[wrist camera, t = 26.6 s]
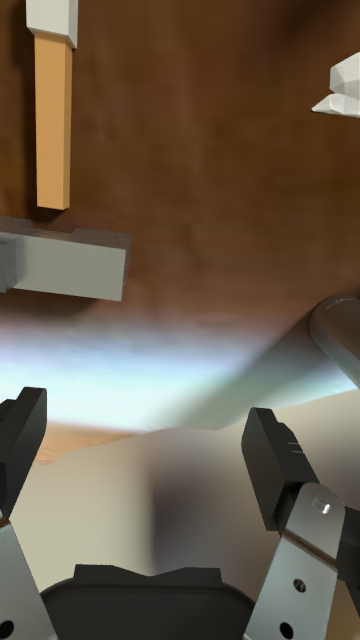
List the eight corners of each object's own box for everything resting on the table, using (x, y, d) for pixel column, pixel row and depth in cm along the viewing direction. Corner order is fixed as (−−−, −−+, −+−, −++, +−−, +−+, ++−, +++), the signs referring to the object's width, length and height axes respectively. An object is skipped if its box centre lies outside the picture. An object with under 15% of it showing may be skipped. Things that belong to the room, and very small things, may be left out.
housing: (127, 276, 48) (118, 310, 36) (-21, 257, 45) (-84, 286, 34) (131, 234, 46) (123, 255, 34) (-24, 211, 43) (-93, 225, 31)
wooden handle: (73, 207, 44) (65, 210, 40) (41, 203, 43) (30, 205, 40) (78, -24, 35) (69, -48, 31) (38, -33, 34) (24, -58, 31)
